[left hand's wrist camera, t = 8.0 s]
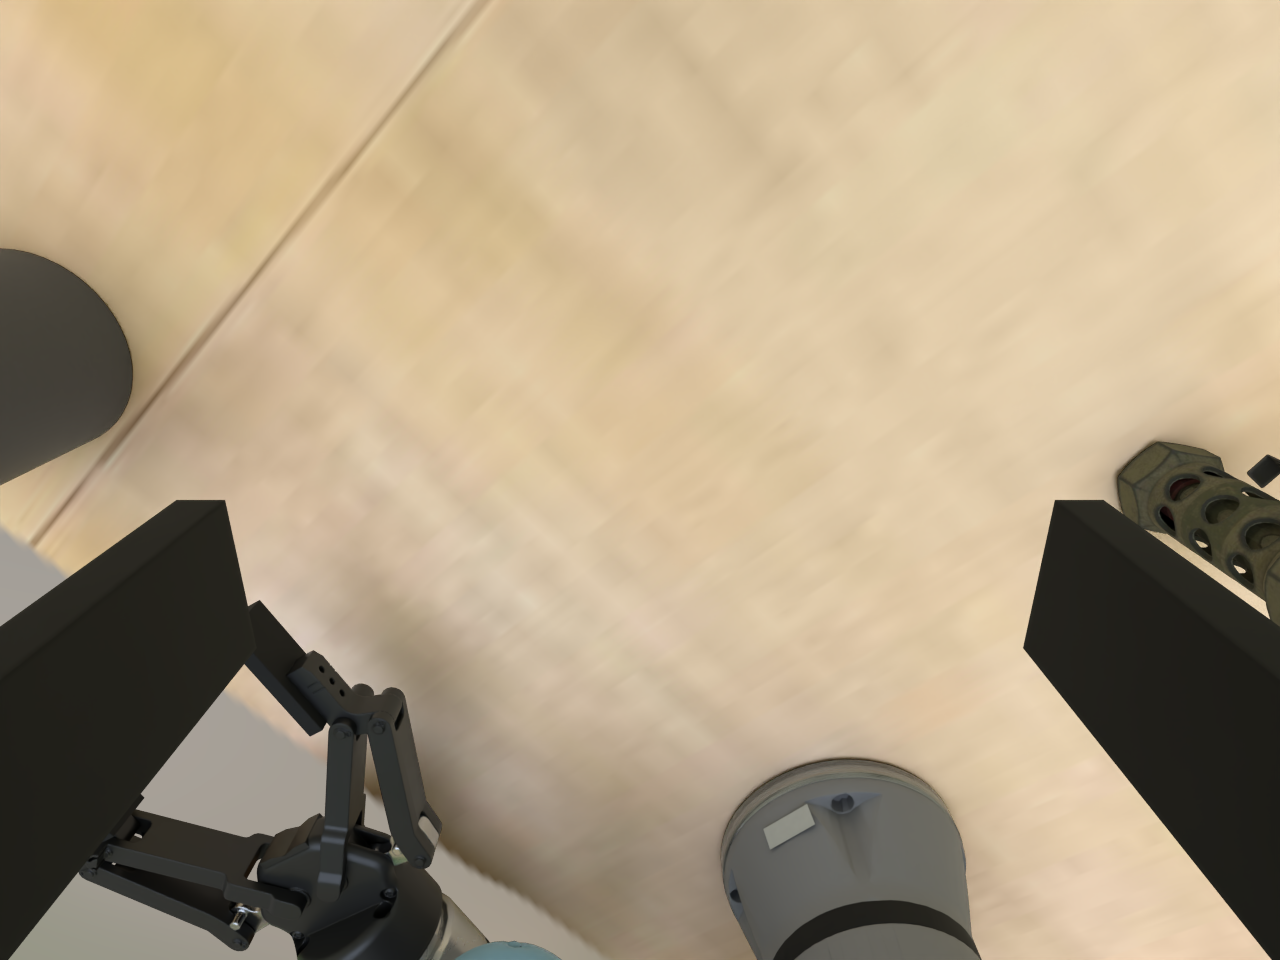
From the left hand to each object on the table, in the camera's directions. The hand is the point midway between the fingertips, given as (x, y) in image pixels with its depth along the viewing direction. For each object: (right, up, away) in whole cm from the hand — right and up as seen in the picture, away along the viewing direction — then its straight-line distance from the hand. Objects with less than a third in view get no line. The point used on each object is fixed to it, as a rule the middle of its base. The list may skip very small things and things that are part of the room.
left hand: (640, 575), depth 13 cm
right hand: (-25, -8, +26) cm, 37 cm away
